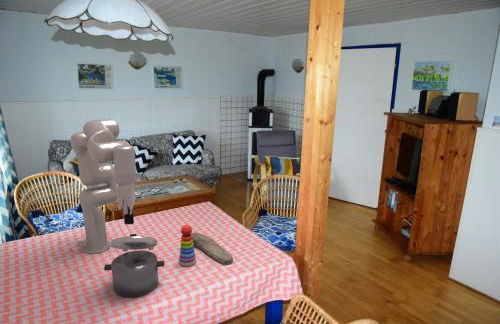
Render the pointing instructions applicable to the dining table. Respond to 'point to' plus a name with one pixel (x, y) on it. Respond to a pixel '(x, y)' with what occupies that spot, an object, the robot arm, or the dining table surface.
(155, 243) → the cooker lid
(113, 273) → the cooker pot
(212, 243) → the elongated rock
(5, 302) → the dining table surface
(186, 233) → the stacking toy
